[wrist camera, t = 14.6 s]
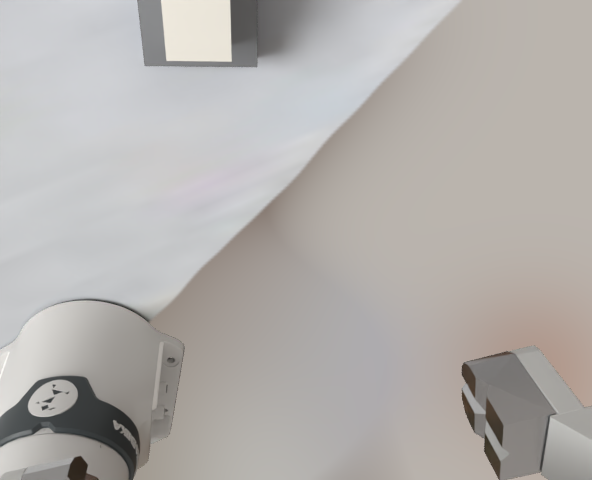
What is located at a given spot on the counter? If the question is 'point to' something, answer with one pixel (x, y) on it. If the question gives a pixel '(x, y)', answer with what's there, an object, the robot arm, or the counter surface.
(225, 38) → the plug
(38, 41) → the counter surface
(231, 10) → the power strip
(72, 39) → the counter surface
